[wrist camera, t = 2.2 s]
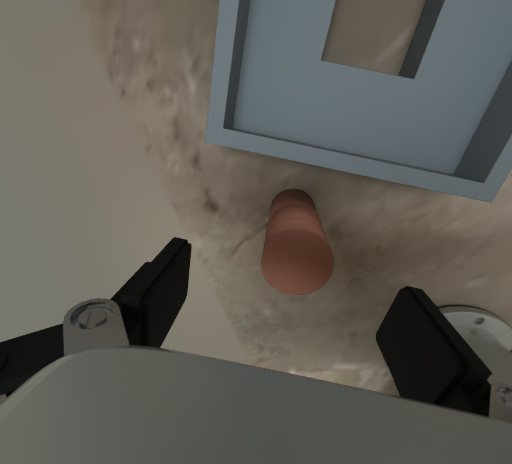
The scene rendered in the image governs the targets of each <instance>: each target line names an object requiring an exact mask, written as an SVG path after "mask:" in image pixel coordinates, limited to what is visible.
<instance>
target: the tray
mask: <svg viewBox="0 0 512 464" xmlns="http://www.w3.org/2000/svg"><path fill="white" fill-rule="evenodd" d="M335 1H336V0H220V3H219V12H218V22H217V32H216V42H215V52H214V62H213V72H212V82H211V92H210V102H209V111H208V121H207V131H206V141H205V142H207V143H212V144H217V145H222V146H226V147H231V148H236V149H240V150H245V151H250V152H255V153H259V154H264V155H269V156H273V157H278V158H283V159H288V160H292V161H297V162H302V163H306V164H311V165H316V166H321V167H325V168H330V169H335V170H339V171H344V172H349V173H353V174H358V175H363V176H368V177H372V178H377V179H382V180H386V181H391V182H396V183H401V184H405V185H410V186H415V187H419V188H424V189H429V190H434V191H438V192H443V193H448V194H452V195H457V196H462V197H467V198H471V199H476V200H481V201H485V202H490V203H491V202H492V201H493V199H494V197H495V196H496V194H497V192H498V191H499V189H500V187H501V186H502V184H503V182H504V181H505V179H506V177H507V176H508V174H509V172H510V171H511V169H512V0H426V3H425V6H424V9H423V11H422V14H421V17H420V19H419V22H418V25H417V28H416V30H415V33H414V36H413V39H412V41H411V44H410V47H409V50H408V52H407V55H406V58H405V61H404V63H403V66H402V69H401V72H400V74H399V76H395V75H390V74H385V73H380V72H375V71H370V70H365V69H360V68H355V67H350V66H345V65H340V64H335V63H330V62H325V61H321V57H322V53H323V49H324V45H325V41H326V37H327V33H328V29H329V25H330V21H331V17H332V13H333V9H334V5H335Z"/></svg>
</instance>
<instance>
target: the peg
mask: <svg viewBox="0 0 512 464" xmlns="http://www.w3.org/2000/svg"><path fill="white" fill-rule="evenodd" d="M333 267H334V261H333V256H332V253H331V250H330V247H329V245H328V242H327V239H326V236H325V233H324V231H323V228H322V225H321V222H320V220H319V217H318V214H317V211H316V208H315V206H314V203H313V200H312V199H311V197H310V196H309V195H308V194H307V193H306V192H304V191H302V190H299V189H288V190H284V191H282V192H281V193H279V194H278V195H277V196H276V197H275V198H274V200H273V202H272V205H271V210H270V215H269V221H268V226H267V232H266V237H265V243H264V248H263V253H262V259H261V269H262V272H263V275H264V277H265V279H266V280H267V282H268V283H269V284H270V285H271V286H272V287H274V288H275V289H277V290H279V291H281V292H283V293H286V294H291V295H304V294H309V293H312V292H314V291H316V290H318V289H320V288H321V287H322V286H323V285H325V284H326V282H327V281H328V280H329V278H330V277H331V274H332V272H333Z"/></svg>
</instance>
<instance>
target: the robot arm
mask: <svg viewBox="0 0 512 464" xmlns="http://www.w3.org/2000/svg"><path fill="white" fill-rule="evenodd" d="M190 257H191V244H189V243H188V241H187V240H185V239H180V238H176V237H174V238H173V239H172V240H171V241H170V242H169V243H168V244H167V245H166V246H165V247H164V249H163V250H162V251H161V252H160V253H159V254H158V255H157V256H156V257H155V259H154V260H153V261H152V262H146V263H145V264H144V265H142V266H141V268H140V269H139V270H138V271H137V272H136V273H135V274H134V275H133V276H132V277H131V278H130V279H129V280H128V281H127V282H126V283H125V285H123V286H122V288H121V289H120V290H119V291H118V292H117V293H116V294H115V295H114V296H113V297H112V298H111V299H110V300H108V299H101V298H100V299H99V298H98V299H90V300H87V301H84V302H81V303H79V304H77V305H75V306H74V307H72V308H71V309H70V310H69V311H68V312H67V313H66V315H65V316H64V320H63V324H60V325H56V326H53V327H50V328H46V329H43V330H40V331H37V332H33V333H30V334H26V335H23V336H20V337H17V338H13V339H10V340H7V341H3V342H0V464H512V329H511V328H510V327H509V326H508V325H507V324H506V323H505V322H504V321H502V320H501V319H500V318H499V317H497V316H496V315H494V314H492V313H489V312H487V311H485V310H481V309H477V308H472V307H462V306H459V307H445V308H439V309H438V308H437V306H436V305H435V304H434V303H433V302H432V300H431V299H430V298H429V297H428V296H427V295H426V293H425V292H424V291H423V290H422V289H419V288H414V287H409V286H406V287H404V288H402V289H400V290H399V292H398V294H397V295H396V297H395V299H394V301H393V303H392V305H391V307H390V309H389V310H388V312H387V314H386V316H385V318H384V320H383V322H382V323H381V325H380V327H379V329H378V331H377V333H376V341H377V343H378V346H379V348H380V350H381V352H382V355H383V357H384V359H385V364H386V367H387V369H388V372H389V374H390V376H391V377H392V379H393V380H394V382H395V385H396V387H397V389H398V391H399V394H400V396H401V397H398V396H393V395H389V394H384V393H380V392H375V391H371V390H366V389H361V388H356V387H352V386H347V385H342V384H338V383H333V382H328V381H324V380H319V379H314V378H309V377H305V376H300V375H295V374H290V373H286V372H281V371H276V370H271V369H266V368H261V367H256V366H252V365H247V364H242V363H237V362H232V361H227V360H222V359H217V358H212V357H207V356H202V355H197V354H192V353H186V352H180V351H175V350H169V349H163V348H160V347H161V345H162V343H163V341H164V339H165V337H166V335H167V333H168V332H169V330H170V328H171V326H172V324H173V322H174V320H175V319H176V317H177V315H178V313H179V311H180V309H181V307H182V305H183V303H184V301H185V299H186V296H187V291H188V280H189V269H190Z"/></svg>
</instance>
